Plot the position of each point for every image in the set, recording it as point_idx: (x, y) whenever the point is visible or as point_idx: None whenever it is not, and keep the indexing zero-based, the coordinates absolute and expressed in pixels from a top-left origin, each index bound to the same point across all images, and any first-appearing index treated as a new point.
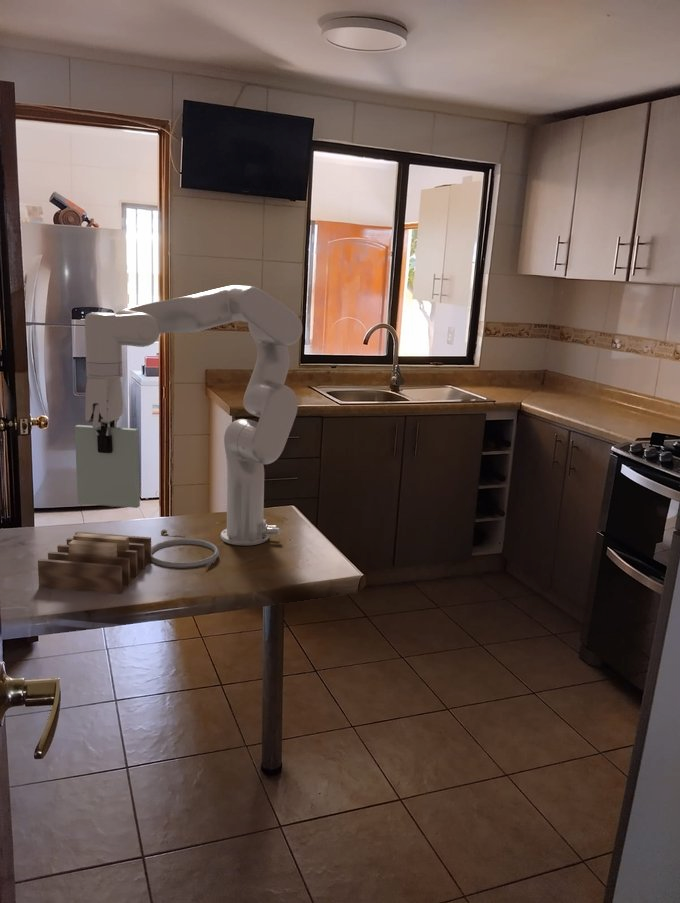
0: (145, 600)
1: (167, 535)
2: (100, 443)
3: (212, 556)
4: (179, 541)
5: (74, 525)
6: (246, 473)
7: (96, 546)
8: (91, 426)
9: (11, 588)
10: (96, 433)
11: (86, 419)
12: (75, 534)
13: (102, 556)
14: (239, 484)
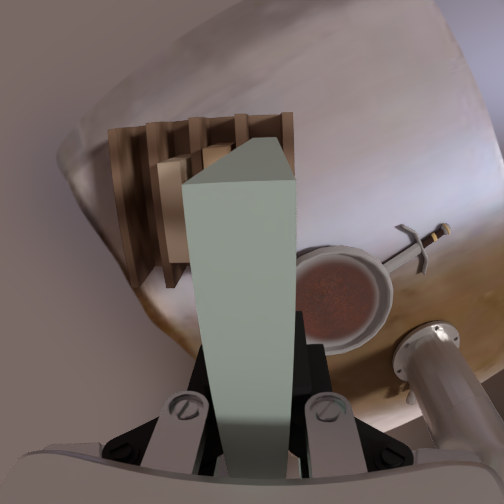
0: (158, 297)
1: (426, 244)
2: (194, 369)
3: None
4: (385, 283)
5: (454, 46)
6: (440, 448)
7: (165, 227)
8: (255, 374)
9: (133, 78)
10: (165, 404)
11: (13, 463)
12: (215, 147)
13: (163, 238)
14: (434, 425)
